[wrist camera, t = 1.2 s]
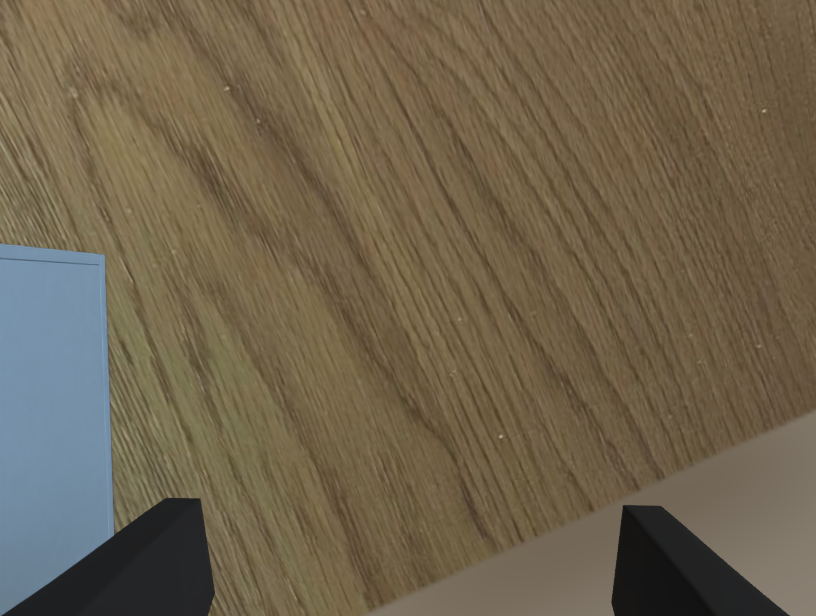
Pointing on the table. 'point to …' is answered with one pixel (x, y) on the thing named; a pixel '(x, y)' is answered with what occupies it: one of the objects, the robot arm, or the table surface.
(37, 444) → the carton
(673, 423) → the table surface
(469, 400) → the table surface
